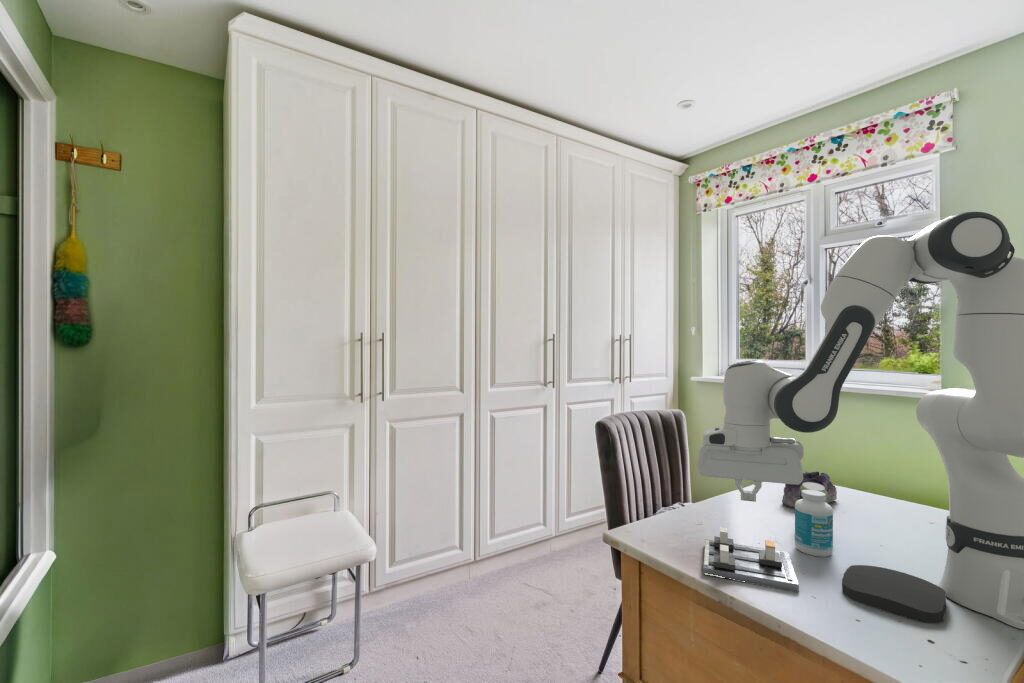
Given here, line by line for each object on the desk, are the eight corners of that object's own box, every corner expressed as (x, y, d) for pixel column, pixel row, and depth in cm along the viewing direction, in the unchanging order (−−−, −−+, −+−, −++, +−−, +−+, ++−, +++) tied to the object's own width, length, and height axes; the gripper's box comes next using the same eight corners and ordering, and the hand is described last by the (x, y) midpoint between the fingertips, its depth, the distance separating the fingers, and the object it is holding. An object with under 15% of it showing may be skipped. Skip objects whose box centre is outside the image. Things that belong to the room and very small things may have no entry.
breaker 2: (734, 562, 98) (734, 546, 98) (735, 570, 95) (735, 553, 95) (714, 559, 100) (713, 542, 100) (713, 566, 96) (713, 549, 96)
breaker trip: (780, 560, 99) (779, 541, 99) (782, 567, 96) (781, 548, 96) (758, 556, 101) (758, 538, 101) (760, 563, 98) (760, 545, 98)
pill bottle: (815, 560, 103) (814, 498, 103) (787, 546, 110) (786, 489, 111) (841, 556, 105) (840, 495, 105) (812, 542, 112) (811, 486, 113)
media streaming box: (837, 598, 88) (837, 582, 88) (853, 572, 99) (853, 557, 99) (942, 631, 78) (942, 613, 78) (947, 598, 88) (947, 582, 88)
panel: (787, 558, 104) (787, 551, 104) (798, 592, 90) (798, 583, 90) (705, 545, 111) (705, 538, 111) (703, 574, 97) (703, 566, 97)
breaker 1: (733, 543, 108) (733, 528, 108) (733, 549, 104) (733, 533, 104) (714, 540, 109) (714, 525, 109) (714, 546, 106) (714, 531, 106)
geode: (816, 516, 130) (810, 479, 131) (774, 510, 140) (768, 476, 141) (845, 499, 142) (839, 466, 143) (804, 494, 152) (799, 463, 153)
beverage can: (817, 525, 123) (817, 479, 123) (834, 536, 116) (833, 488, 116) (792, 524, 124) (792, 479, 124) (807, 535, 117) (806, 487, 117)
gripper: (800, 436, 99) (802, 501, 99) (697, 430, 107) (698, 491, 107) (805, 441, 93) (807, 511, 93) (696, 435, 102) (697, 499, 102)
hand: (748, 500), depth 100 cm, fingers closed
